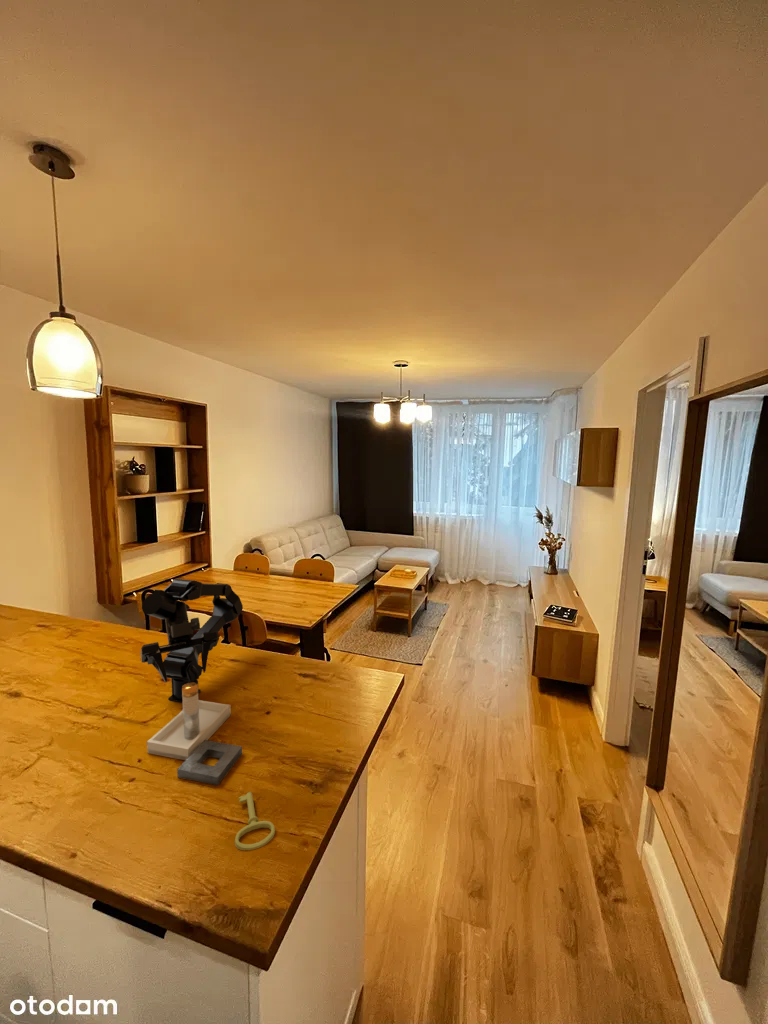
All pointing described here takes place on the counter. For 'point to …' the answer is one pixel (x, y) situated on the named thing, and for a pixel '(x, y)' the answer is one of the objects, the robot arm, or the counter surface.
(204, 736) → the parts tray
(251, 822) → the key
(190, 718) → the pin
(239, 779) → the counter surface
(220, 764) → the grey flat square frame
